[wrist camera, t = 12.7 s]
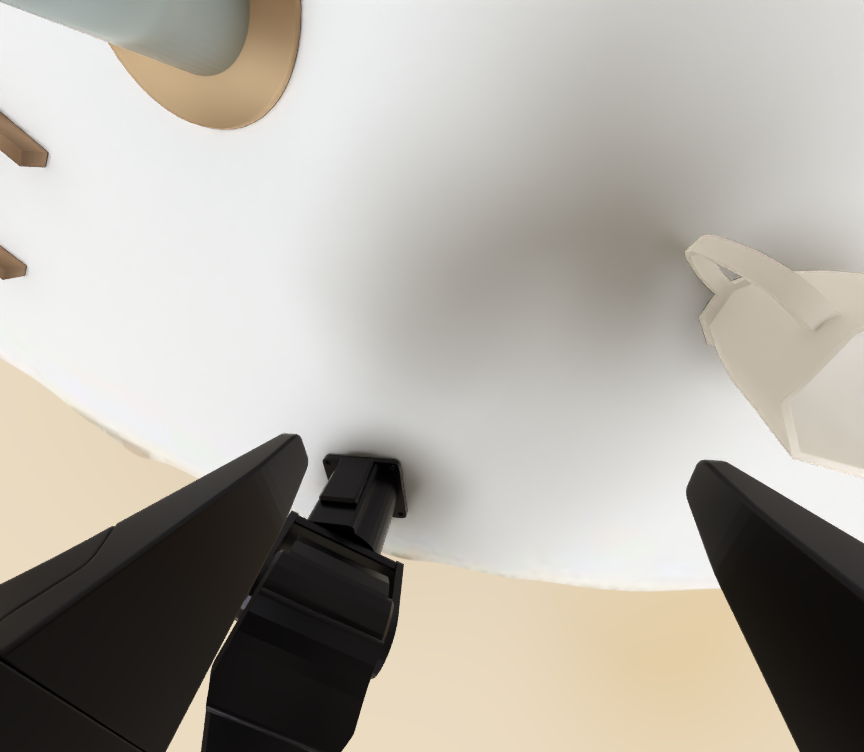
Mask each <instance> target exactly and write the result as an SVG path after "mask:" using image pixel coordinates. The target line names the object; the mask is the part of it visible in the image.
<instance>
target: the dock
mask: <svg viewBox="0 0 864 752" xmlns="http://www.w3.org/2000/svg"><path fill="white" fill-rule="evenodd" d="M0 150H1V151H2V152H3V153H4V154H6V155H7V156H8V157H9V158H10V159H12V160H13V161H14V162H15V163H17V164H18V165H19V166H27V167H45V165H46V159H47V154H48V152H46V151H45V150H44V149H43V148H42V147H41V146H39V145H38V144H37V143H36V142H35V141H34V140H32V139H31V138H30V137H29V136H28V135H26V134H25V133H24V132H23V131H22V130H21V129H19V128H18V127H17V126H16V125H15V124H14V123H12V122H11V121H10V120H9V119H8V118H6V117H5V116H4V115H3V114H2V113H1V112H0ZM25 270H26V265H24V264H23V263H22V262H20V261H19V260H18V259H16V258H15V257H14V256H12V255H11V254H10V253H8V252H7V251H6V250H4V249H3V248H2V247H0V278H1V279H3V280H5V279H10V278H15V277H21V276H25Z"/></svg>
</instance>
